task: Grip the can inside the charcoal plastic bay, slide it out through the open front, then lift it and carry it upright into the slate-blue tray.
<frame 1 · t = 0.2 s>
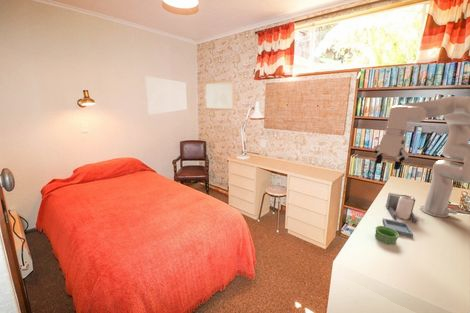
hand: (387, 166, 112), 31 cm above the table, tool pointing down, fingers open, 9 cm apart
can: (401, 217, 126), on the table
bay: (402, 216, 125), on the table
tray: (396, 229, 113), on the table
ramekin: (384, 239, 104), on the table
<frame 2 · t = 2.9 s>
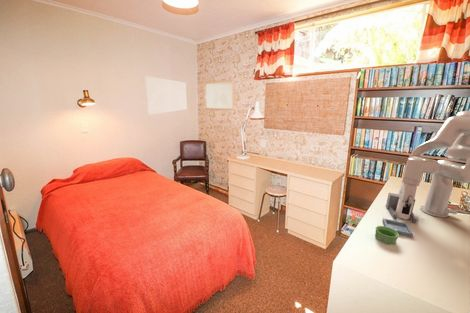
hand: (402, 210, 124), 4 cm above the table, tool pointing down, fingers open, 8 cm apart
nothing on the table moved.
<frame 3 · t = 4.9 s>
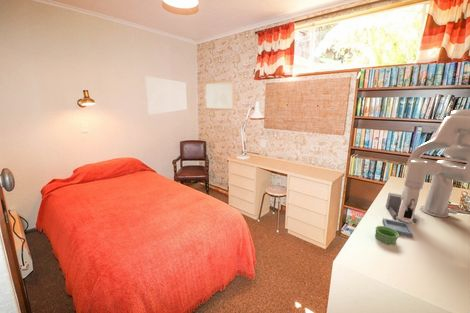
hand: (405, 214, 121), 3 cm above the table, tool pointing down, fingers closed on can, 6 cm apart
can: (404, 220, 122), on the table, touching gripper
everything else where it was.
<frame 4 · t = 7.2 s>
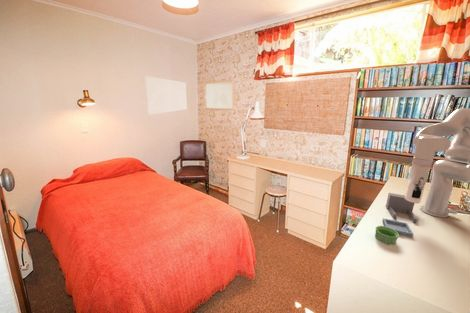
hand: (413, 194, 115), 16 cm above the table, tool pointing down, fingers closed on can, 6 cm apart
can: (412, 201, 116), point 13 cm above the table, touching gripper
everything else where it was.
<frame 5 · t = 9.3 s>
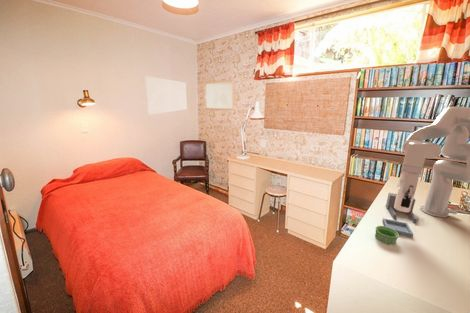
hand: (402, 203, 109), 14 cm above the table, tool pointing down, fingers closed on can, 6 cm apart
can: (401, 210, 110), point 11 cm above the table, touching gripper
everything else where it was.
when the fingers open (5 cm above the table, at t = 11.3 s): can drops 1 cm, resting on tray.
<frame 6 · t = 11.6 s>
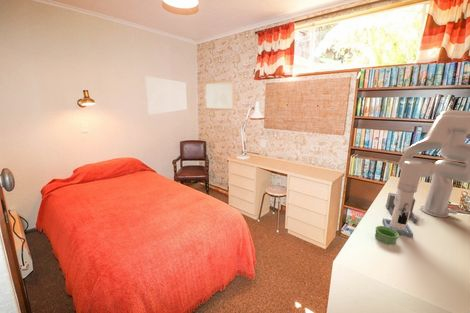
hand: (399, 218, 111), 6 cm above the table, tool pointing down, fingers open, 9 cm apart
can: (397, 228, 113), resting on tray
everything else where it was.
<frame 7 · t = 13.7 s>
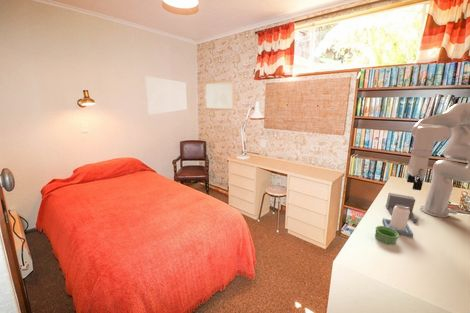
hand: (413, 185, 111), 22 cm above the table, tool pointing down, fingers open, 9 cm apart
nothing on the table moved.
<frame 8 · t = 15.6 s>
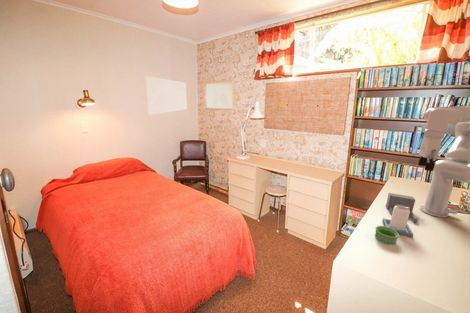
hand: (425, 168, 113), 30 cm above the table, tool pointing down, fingers open, 9 cm apart
nothing on the table moved.
at the end: can 0.2 cm off-centre on the tray, point 0.3 cm above the tray's base; can tilted 0°; the gripper is holding nothing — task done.
